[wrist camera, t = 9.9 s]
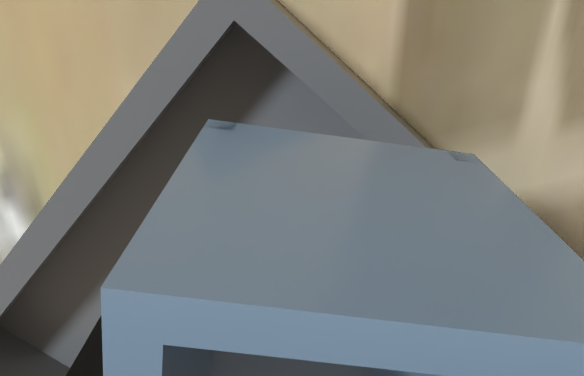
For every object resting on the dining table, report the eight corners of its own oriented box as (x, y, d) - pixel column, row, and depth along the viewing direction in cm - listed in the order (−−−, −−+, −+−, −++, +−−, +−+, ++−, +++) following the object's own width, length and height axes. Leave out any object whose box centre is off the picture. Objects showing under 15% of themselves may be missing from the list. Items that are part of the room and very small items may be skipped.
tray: (595, 299, 20) (643, 350, 17) (305, 509, 25) (306, 573, 23) (240, -35, 15) (227, -39, 12) (-26, 313, 20) (-76, 365, 18)
